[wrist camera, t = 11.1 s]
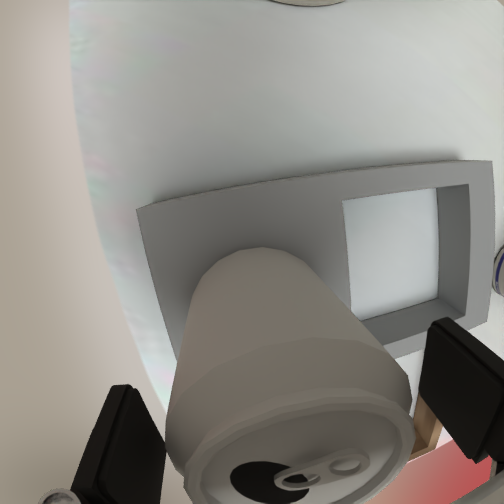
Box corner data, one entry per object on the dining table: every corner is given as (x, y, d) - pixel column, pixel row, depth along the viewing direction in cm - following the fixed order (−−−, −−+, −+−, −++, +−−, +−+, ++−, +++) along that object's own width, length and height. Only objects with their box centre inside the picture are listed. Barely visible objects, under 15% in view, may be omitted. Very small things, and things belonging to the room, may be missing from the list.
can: (164, 294, 17) (93, 467, 5) (276, 216, 17) (393, 303, 5) (241, 382, 19) (264, 554, 7) (342, 318, 18) (454, 460, 7)
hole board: (152, 203, 20) (136, 209, 16) (459, 160, 21) (491, 160, 17) (195, 371, 23) (192, 404, 19) (460, 304, 24) (486, 321, 20)
